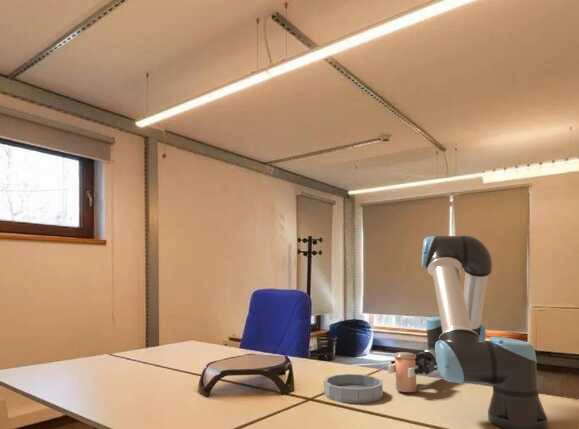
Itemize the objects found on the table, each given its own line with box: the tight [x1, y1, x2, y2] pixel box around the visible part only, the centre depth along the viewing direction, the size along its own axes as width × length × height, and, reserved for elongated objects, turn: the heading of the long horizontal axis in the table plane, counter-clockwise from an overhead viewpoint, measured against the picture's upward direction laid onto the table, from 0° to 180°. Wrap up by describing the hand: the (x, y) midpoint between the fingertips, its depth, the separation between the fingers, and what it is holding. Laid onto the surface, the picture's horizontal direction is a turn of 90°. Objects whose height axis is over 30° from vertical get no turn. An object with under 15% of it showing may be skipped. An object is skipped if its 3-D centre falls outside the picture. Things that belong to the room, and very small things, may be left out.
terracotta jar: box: [393, 351, 417, 393], centre depth 153 cm, size 8×8×12 cm
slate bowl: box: [323, 373, 384, 404], centre depth 149 cm, size 20×20×4 cm
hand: (398, 371), depth 149 cm, fingers closed on terracotta jar, 7 cm apart
